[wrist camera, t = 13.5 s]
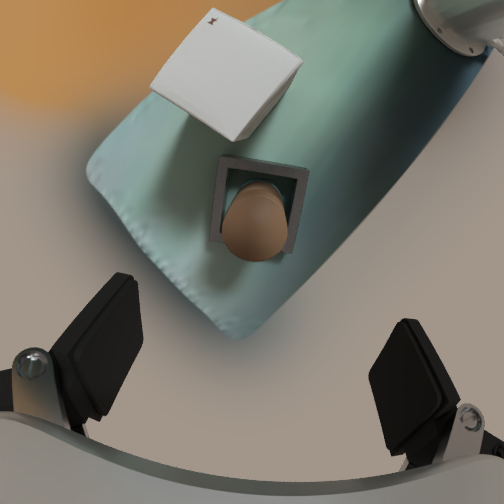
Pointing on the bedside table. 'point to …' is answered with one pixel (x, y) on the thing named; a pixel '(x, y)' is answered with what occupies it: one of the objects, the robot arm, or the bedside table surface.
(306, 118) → the bedside table surface
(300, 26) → the bedside table surface
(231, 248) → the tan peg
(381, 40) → the bedside table surface
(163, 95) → the supplement box
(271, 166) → the socket
